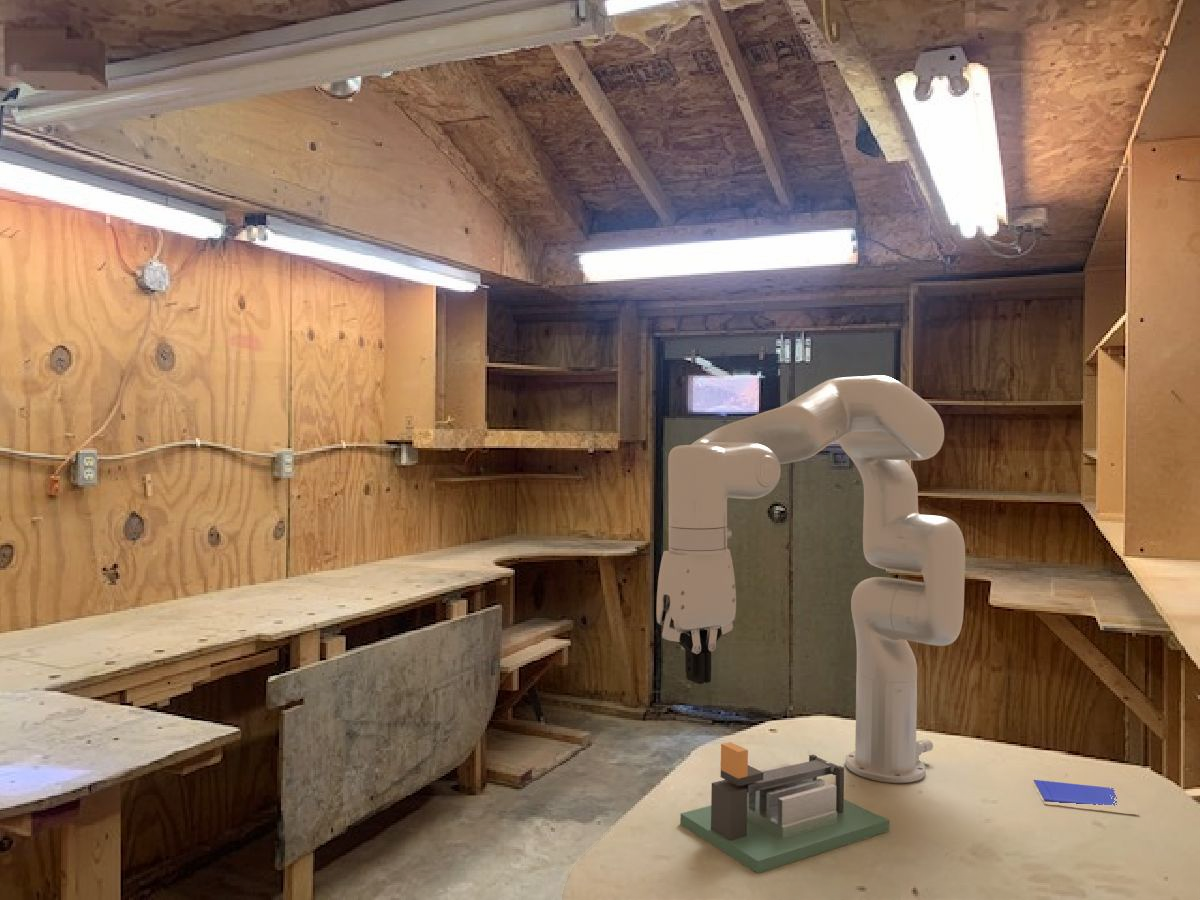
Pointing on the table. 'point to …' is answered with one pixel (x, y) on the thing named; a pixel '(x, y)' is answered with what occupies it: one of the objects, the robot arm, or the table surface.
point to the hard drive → (1075, 793)
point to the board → (767, 850)
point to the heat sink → (793, 806)
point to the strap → (792, 774)
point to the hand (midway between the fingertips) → (698, 680)
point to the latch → (737, 765)
